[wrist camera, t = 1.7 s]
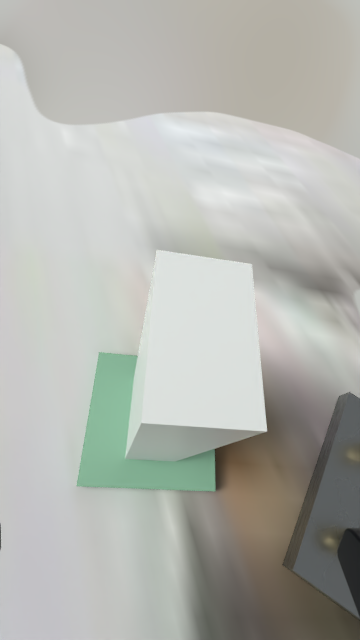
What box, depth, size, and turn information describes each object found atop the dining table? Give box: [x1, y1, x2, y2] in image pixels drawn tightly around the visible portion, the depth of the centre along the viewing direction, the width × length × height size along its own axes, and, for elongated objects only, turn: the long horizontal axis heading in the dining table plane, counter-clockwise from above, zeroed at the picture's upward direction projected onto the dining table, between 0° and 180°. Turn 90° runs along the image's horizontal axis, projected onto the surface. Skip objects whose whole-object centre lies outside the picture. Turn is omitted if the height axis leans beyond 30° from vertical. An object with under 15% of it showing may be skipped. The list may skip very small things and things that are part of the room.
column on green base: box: [77, 250, 267, 491], centre depth 14 cm, size 8×8×14 cm
